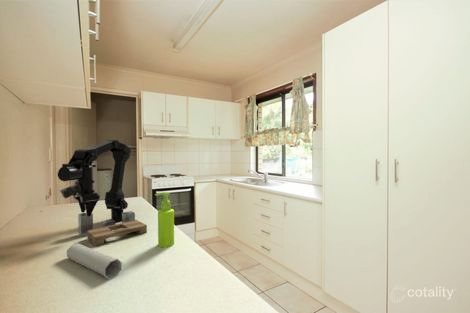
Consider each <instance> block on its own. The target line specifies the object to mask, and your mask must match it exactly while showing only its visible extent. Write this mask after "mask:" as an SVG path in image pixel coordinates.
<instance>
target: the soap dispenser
mask: <svg viewBox="0 0 470 313" xmlns="http://www.w3.org/2000/svg"><path fill="white" fill-rule="evenodd" d="M154 195H155V197H158V196H163V200H161V201H160V203H161V204H160V205H161V206H160V207H161V208H160V209H159V210H157V237H158V238H157V239H158V240H157V242H158V243H157V244H158V247H159V248H170V247H173V246H174V245H175V209H173V208H171V201H170V200H169V196H170V195H171V194H170V192H168V191H167V192H166V191H165V192H158V193H155V194H154Z"/></svg>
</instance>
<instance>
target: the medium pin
mask: <svg viewBox="0 0 470 313" xmlns="http://www.w3.org/2000/svg"><path fill="white" fill-rule="evenodd" d="M133 220H136V213H135V212H134V211H133V210H131V211H125V212H124V211H123V213H122V221H121V223H124V222H129V221H133Z"/></svg>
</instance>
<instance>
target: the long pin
mask: <svg viewBox="0 0 470 313" xmlns="http://www.w3.org/2000/svg"><path fill="white" fill-rule="evenodd" d="M77 215H78V216H77V218H78V221H77V224H78V235H79V237H81V238H83V237H87V230H92V229H94V214H93V213H92V214H91V216H87V213H86V212H83V213H82V212H81V213H78V214H77Z"/></svg>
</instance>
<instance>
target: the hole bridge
mask: <svg viewBox="0 0 470 313" xmlns="http://www.w3.org/2000/svg"><path fill="white" fill-rule="evenodd" d="M147 226H148V225H147V224H146V223H143V222H141V221H139V220H137V219H135V220H133V221H129V222H124V223H122V222H120V223H117V224H116V223H115V225H110V226H106V227H102V226H101V227H98V228H93V229H92V230H87V236H86V237H87V240H88V241H89V242H90V243H91V244H92V245H93V246H94V247H99V246H103V245H105V239H109V238H113V237H118V236H122V235H126V234H130V233H137V234H138V235H144V234H147V233H148V230H147V229H148V228H147Z"/></svg>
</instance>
